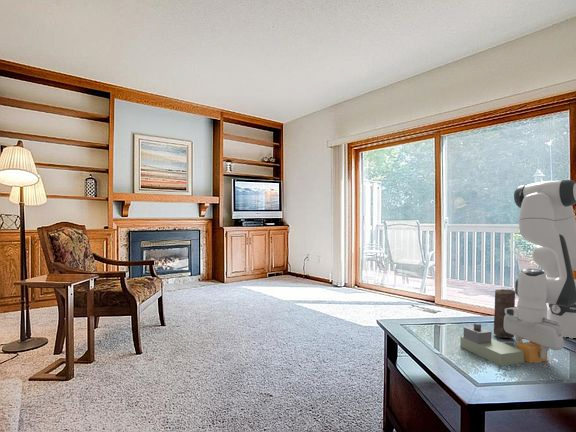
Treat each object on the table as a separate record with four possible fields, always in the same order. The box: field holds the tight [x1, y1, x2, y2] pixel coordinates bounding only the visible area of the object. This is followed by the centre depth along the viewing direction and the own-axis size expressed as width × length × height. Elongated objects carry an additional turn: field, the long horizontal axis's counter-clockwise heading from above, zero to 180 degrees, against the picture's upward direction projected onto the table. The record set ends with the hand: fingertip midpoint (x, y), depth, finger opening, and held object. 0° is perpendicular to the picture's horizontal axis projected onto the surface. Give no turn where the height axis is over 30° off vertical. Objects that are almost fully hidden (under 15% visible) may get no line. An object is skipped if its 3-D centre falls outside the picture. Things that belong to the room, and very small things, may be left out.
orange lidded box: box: [516, 341, 548, 364], centre depth 124 cm, size 8×5×6 cm, turn 106°
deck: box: [460, 322, 525, 367], centre depth 129 cm, size 20×18×10 cm
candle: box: [493, 288, 516, 339], centre depth 146 cm, size 8×7×20 cm
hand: (531, 353), depth 124 cm, fingers open, 6 cm apart
